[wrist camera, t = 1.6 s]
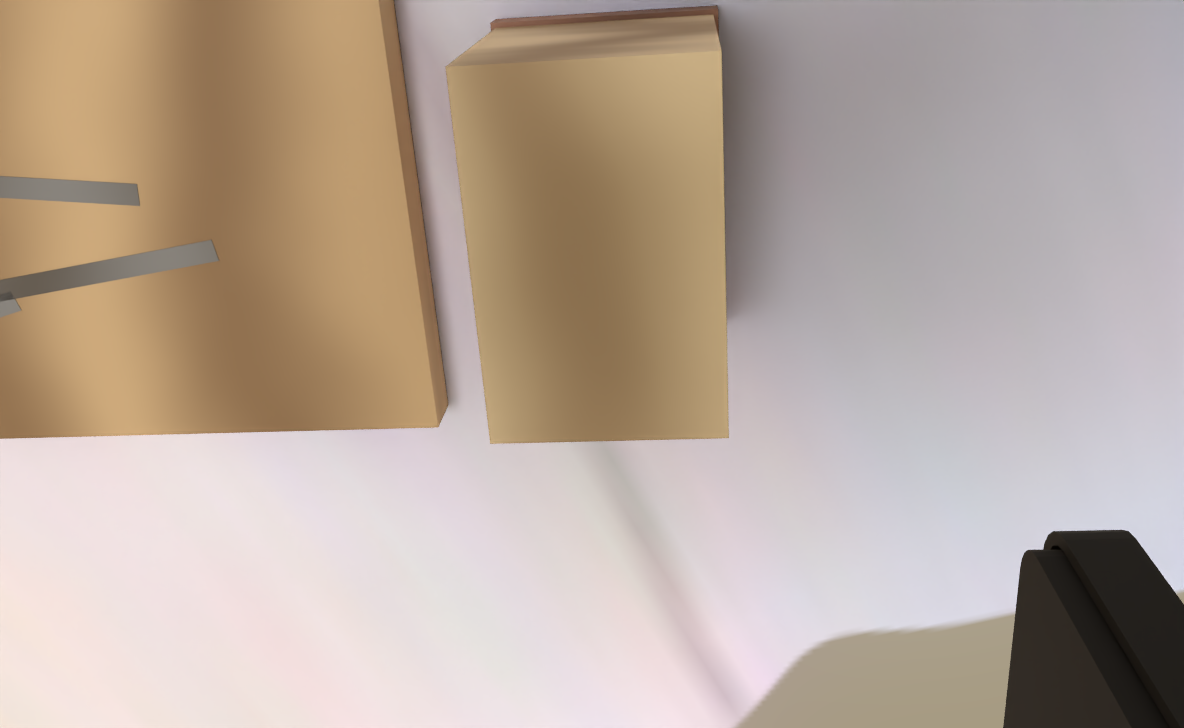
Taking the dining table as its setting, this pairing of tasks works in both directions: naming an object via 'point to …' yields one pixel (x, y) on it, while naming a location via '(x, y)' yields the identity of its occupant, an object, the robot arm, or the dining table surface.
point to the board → (210, 221)
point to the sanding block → (596, 224)
